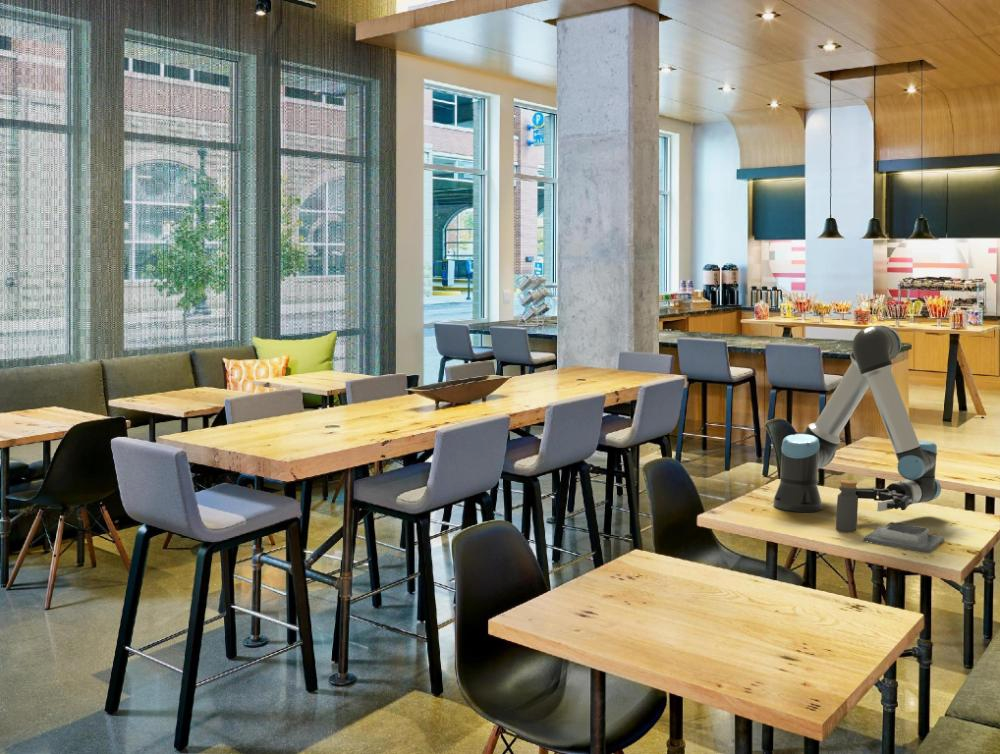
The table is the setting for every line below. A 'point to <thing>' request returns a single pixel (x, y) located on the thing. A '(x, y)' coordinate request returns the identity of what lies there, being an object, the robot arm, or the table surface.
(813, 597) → the table surface
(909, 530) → the collar plate
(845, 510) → the bottle
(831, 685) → the table surface
